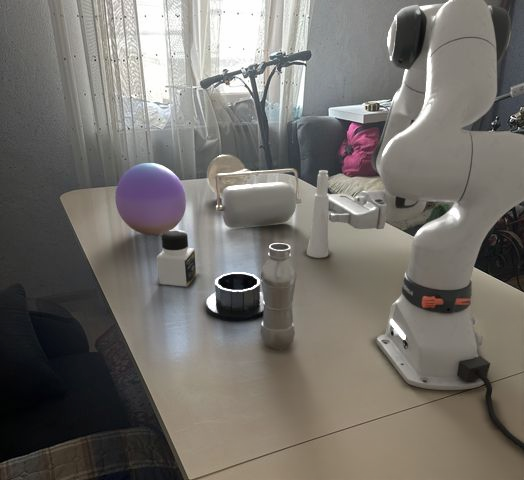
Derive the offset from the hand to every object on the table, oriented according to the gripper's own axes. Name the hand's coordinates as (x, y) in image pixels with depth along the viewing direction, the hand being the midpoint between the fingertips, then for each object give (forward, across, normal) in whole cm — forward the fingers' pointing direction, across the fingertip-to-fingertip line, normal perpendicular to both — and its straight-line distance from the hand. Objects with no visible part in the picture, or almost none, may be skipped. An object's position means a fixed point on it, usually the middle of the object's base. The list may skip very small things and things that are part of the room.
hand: (322, 212), depth 134 cm
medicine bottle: (+40, +4, +12) cm, 42 cm away
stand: (+30, +22, +12) cm, 39 cm away
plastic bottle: (+28, +40, +12) cm, 50 cm away
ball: (+40, -30, +12) cm, 51 cm away
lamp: (+8, -43, +12) cm, 45 cm away
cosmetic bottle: (0, 0, +12) cm, 12 cm away
